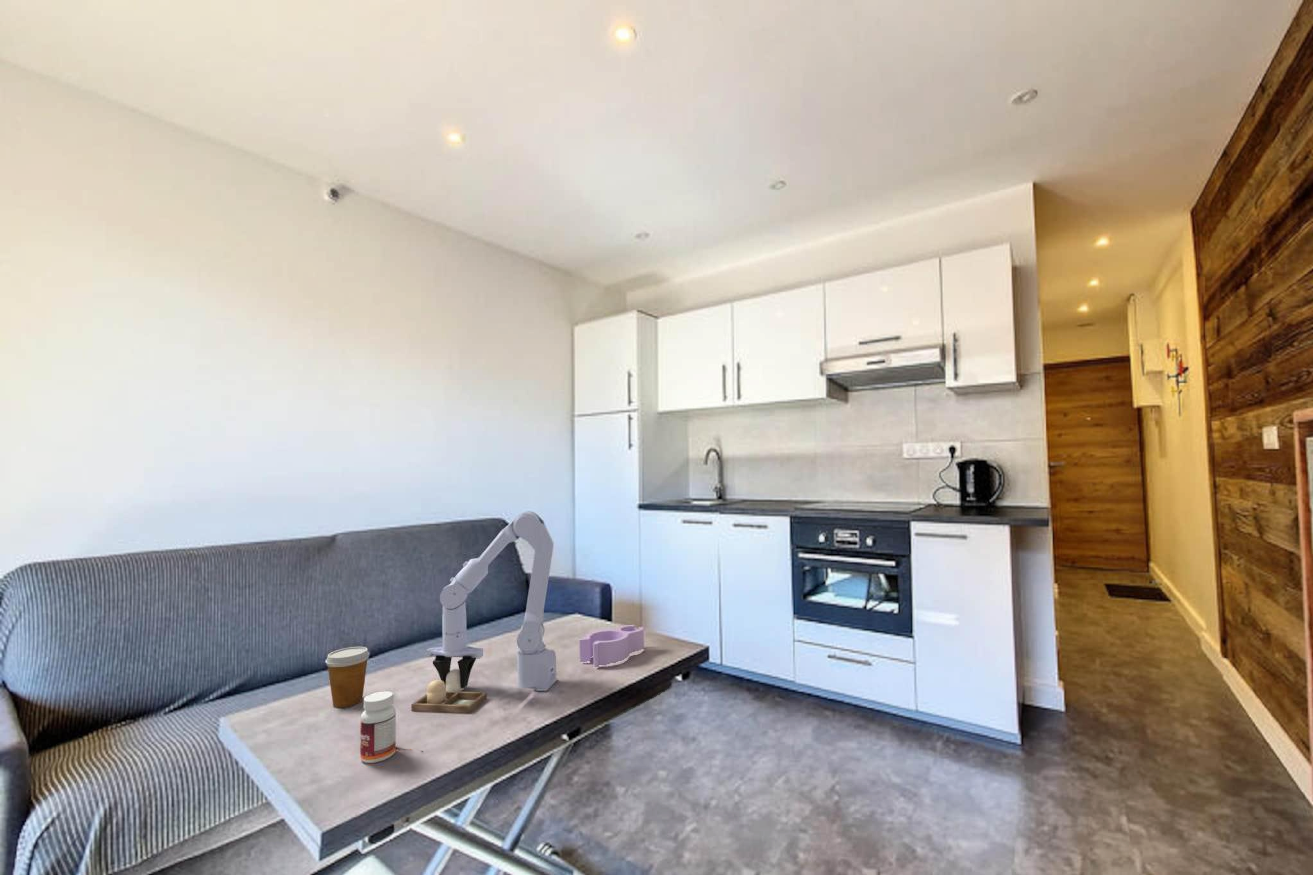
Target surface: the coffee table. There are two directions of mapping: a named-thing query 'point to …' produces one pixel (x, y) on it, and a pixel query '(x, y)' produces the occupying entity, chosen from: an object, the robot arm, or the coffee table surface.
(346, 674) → the disposable coffee cup
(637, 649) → the clip
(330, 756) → the coffee table surface
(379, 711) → the pill bottle
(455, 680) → the cream egg
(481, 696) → the egg crate
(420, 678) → the coffee table surface
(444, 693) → the brown egg
